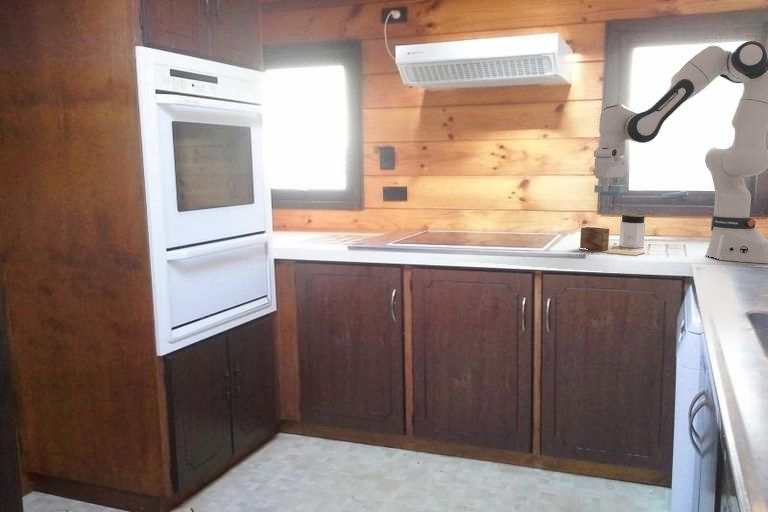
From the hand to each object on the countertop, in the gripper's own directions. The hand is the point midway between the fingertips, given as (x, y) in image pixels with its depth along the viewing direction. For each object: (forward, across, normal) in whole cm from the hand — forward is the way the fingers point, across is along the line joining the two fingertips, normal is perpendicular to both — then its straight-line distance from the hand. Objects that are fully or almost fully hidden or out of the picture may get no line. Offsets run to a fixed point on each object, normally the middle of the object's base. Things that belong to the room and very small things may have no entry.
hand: (610, 190), depth 253 cm
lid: (+2, 0, 0) cm, 2 cm away
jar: (+23, -18, +2) cm, 29 cm away
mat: (+22, 0, +6) cm, 23 cm away
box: (+22, +1, -5) cm, 23 cm away
